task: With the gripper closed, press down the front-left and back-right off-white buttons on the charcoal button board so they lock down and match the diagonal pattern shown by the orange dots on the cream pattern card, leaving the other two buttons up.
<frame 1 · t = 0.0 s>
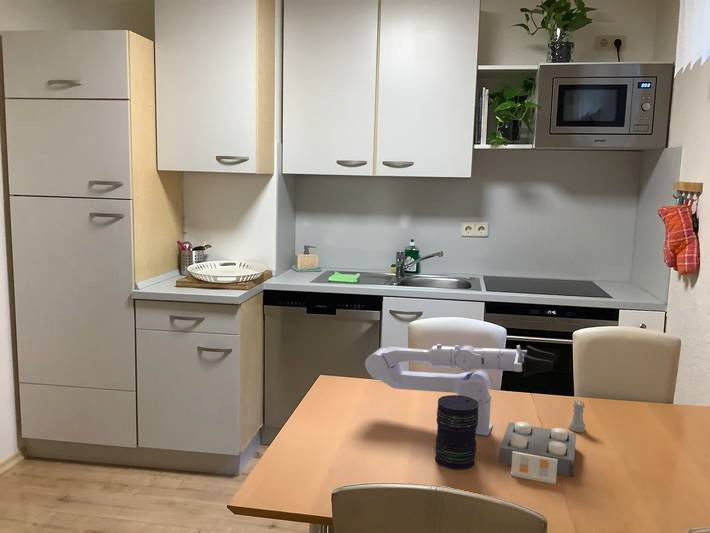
hand: (553, 361, 159), 22 cm above the table, tool horizontal, fingers open, 7 cm apart
button back left: (522, 430, 159), point 4 cm above the table, slide at 0.0 cm
button front right: (556, 451, 147), point 4 cm above the table, slide at 0.0 cm
rook chess piece: (576, 430, 171), on the table
button front left: (518, 444, 150), point 4 cm above the table, slide at 0.0 cm
storage jar: (454, 461, 149), on the table
button board: (538, 455, 153), on the table
button back right: (559, 437, 155), point 4 cm above the table, slide at 0.0 cm
pattern card: (533, 477, 142), on the table
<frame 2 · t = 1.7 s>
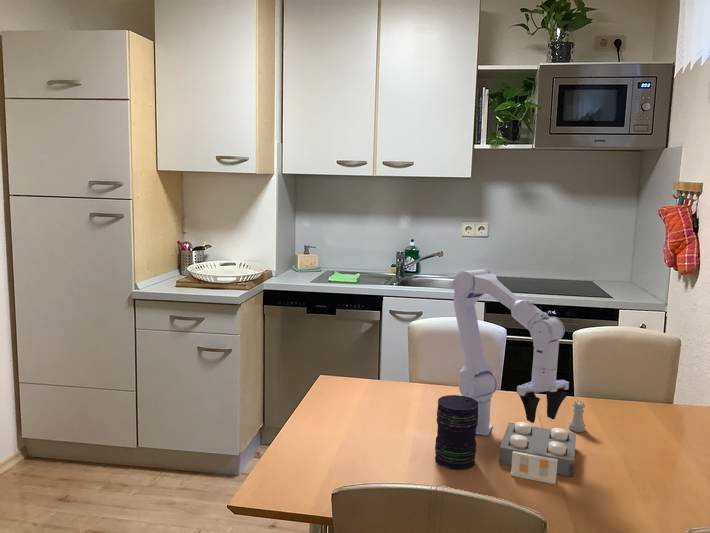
hand: (540, 419, 152), 9 cm above the table, tool pointing down, fingers open, 6 cm apart
nothing on the table moved.
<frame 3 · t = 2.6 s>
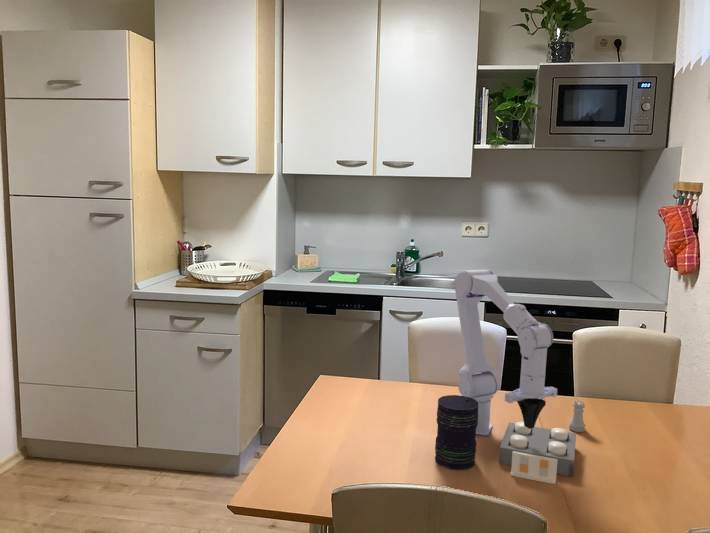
hand: (529, 426, 151), 8 cm above the table, tool pointing down, fingers closed
nothing on the table moved.
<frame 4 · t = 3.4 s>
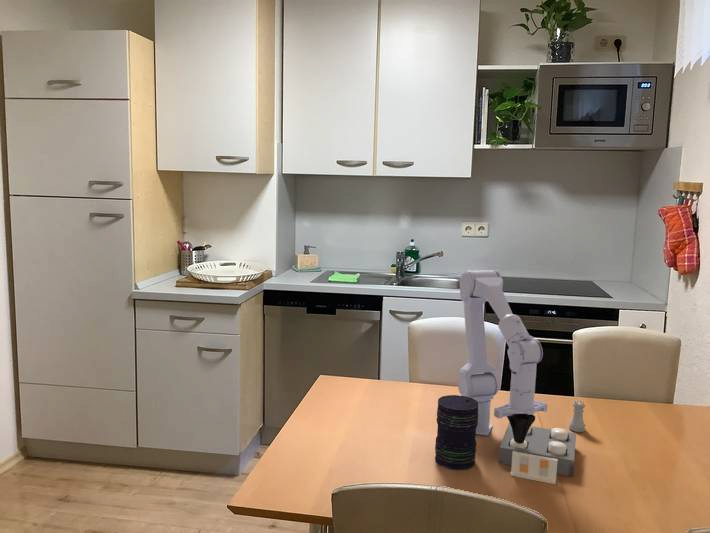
hand: (518, 441, 150), 5 cm above the table, tool pointing down, fingers closed, pressing on button front left
button front left: (518, 447, 151), point 3 cm above the table, slide at 1.0 cm, touching gripper
everything else where it was.
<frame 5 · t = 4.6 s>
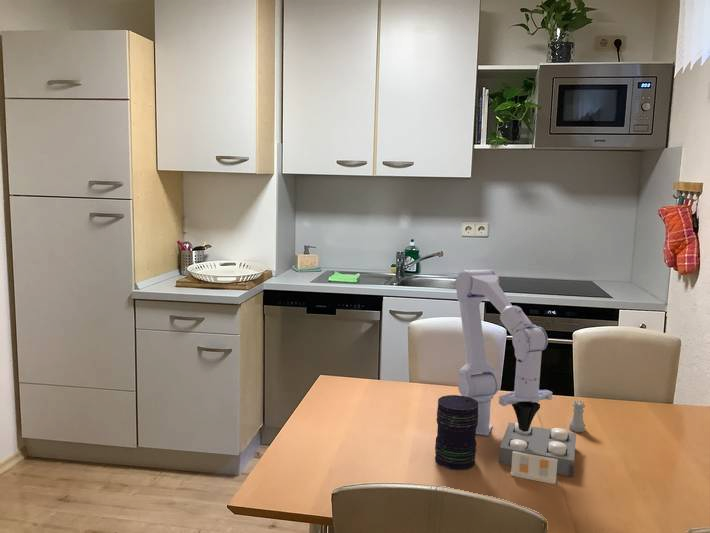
hand: (523, 430, 150), 7 cm above the table, tool pointing down, fingers closed
button front left: (518, 448, 151), point 3 cm above the table, slide at 1.2 cm
everything else where it was.
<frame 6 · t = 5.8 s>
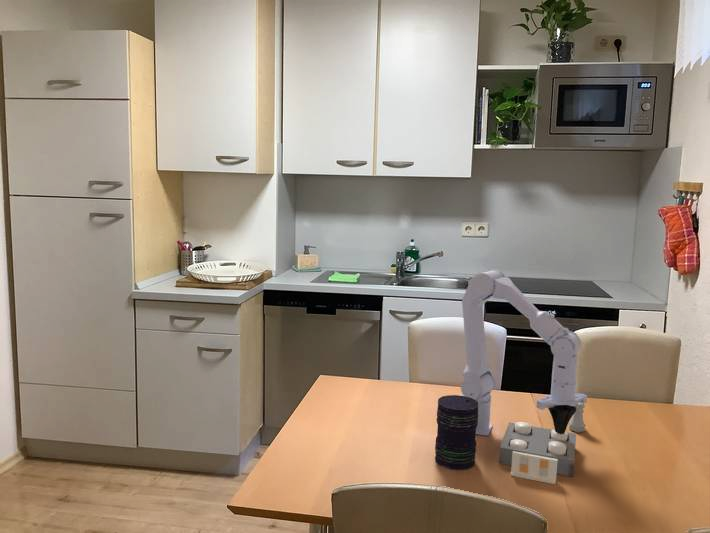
hand: (559, 432, 155), 5 cm above the table, tool pointing down, fingers closed, pressing on button back right
button back right: (559, 438, 156), point 4 cm above the table, slide at 0.4 cm, touching gripper
everything else where it was.
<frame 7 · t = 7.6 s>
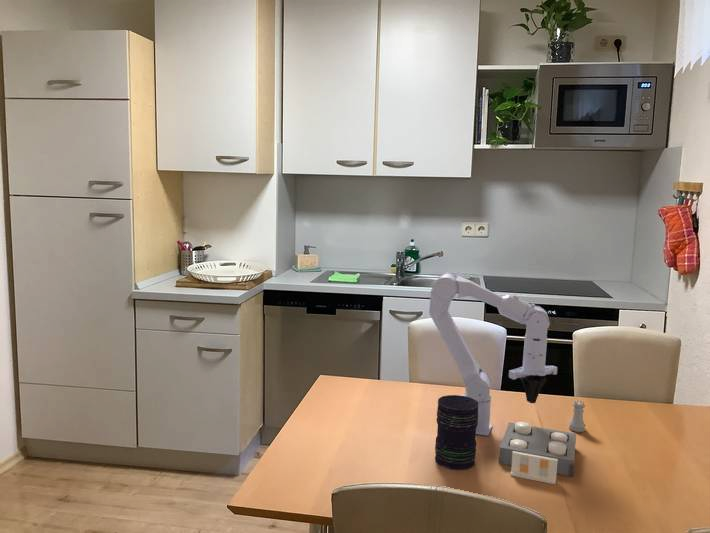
hand: (531, 401, 164), 9 cm above the table, tool pointing down, fingers closed
button back right: (558, 441, 156), point 3 cm above the table, slide at 1.2 cm
everything else where it was.
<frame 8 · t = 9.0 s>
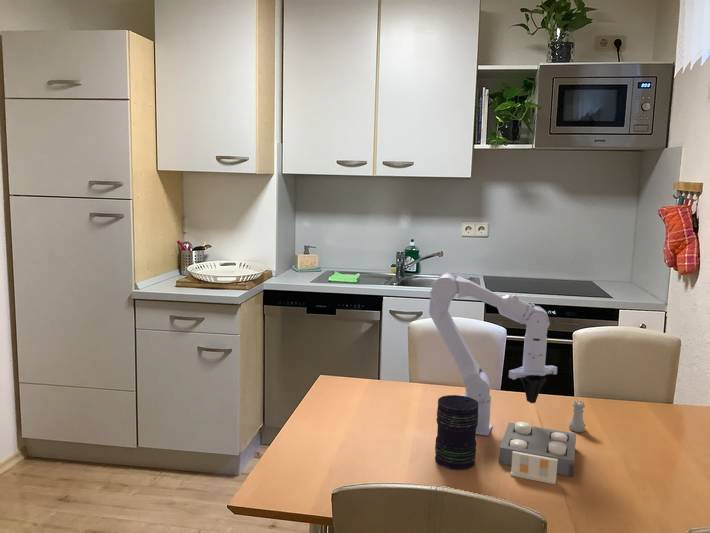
hand: (531, 401, 165), 9 cm above the table, tool pointing down, fingers closed
nothing on the table moved.
at the end: button front left slide at 1.2 cm; button back right slide at 1.2 cm; button front right slide at 0.0 cm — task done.
